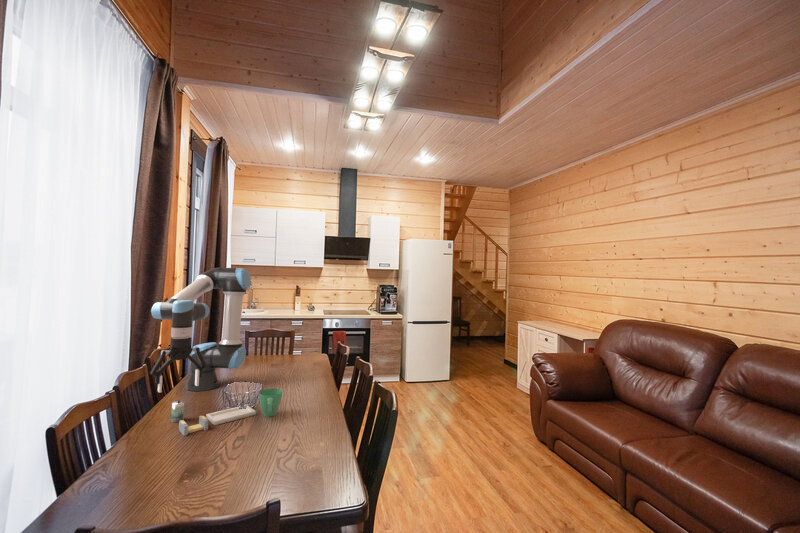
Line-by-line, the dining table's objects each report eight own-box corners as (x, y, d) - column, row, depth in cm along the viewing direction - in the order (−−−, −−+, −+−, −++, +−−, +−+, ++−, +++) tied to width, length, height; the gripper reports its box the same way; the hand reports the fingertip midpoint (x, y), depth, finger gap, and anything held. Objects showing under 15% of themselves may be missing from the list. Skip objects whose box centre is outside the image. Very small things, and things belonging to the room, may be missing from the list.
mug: (258, 411, 162) (259, 389, 162) (281, 409, 165) (281, 387, 165) (256, 424, 148) (258, 400, 148) (281, 422, 151) (282, 398, 151)
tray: (206, 418, 153) (206, 414, 153) (246, 408, 165) (246, 404, 165) (214, 425, 146) (214, 421, 146) (255, 414, 158) (255, 411, 158)
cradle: (178, 429, 141) (179, 419, 141) (202, 424, 147) (202, 414, 147) (184, 435, 136) (184, 425, 136) (208, 429, 142) (208, 419, 142)
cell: (169, 420, 149) (170, 400, 150) (181, 417, 153) (182, 398, 153) (172, 423, 146) (173, 403, 147) (185, 420, 150) (186, 401, 150)
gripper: (147, 341, 139) (144, 396, 138) (216, 335, 157) (213, 384, 156) (143, 338, 144) (140, 392, 143) (210, 333, 162) (207, 381, 161)
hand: (178, 388), depth 150 cm, fingers open, 13 cm apart
